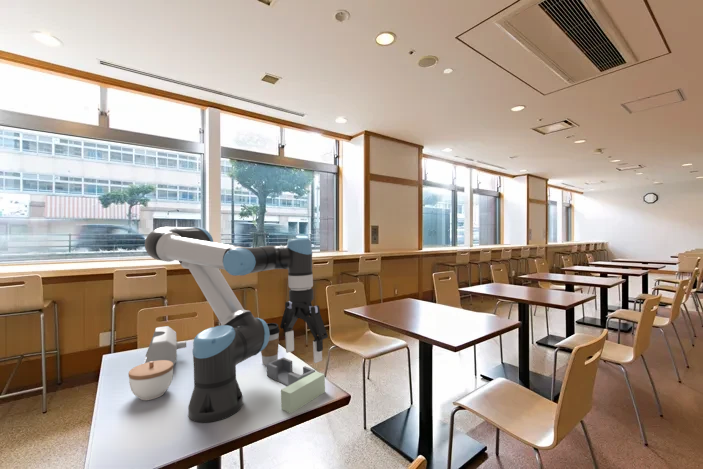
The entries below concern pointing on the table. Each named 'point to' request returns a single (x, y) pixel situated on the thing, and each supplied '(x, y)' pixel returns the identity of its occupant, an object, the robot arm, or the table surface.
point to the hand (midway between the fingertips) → (303, 356)
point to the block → (302, 391)
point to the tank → (164, 345)
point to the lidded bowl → (151, 379)
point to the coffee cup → (271, 345)
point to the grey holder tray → (285, 371)
